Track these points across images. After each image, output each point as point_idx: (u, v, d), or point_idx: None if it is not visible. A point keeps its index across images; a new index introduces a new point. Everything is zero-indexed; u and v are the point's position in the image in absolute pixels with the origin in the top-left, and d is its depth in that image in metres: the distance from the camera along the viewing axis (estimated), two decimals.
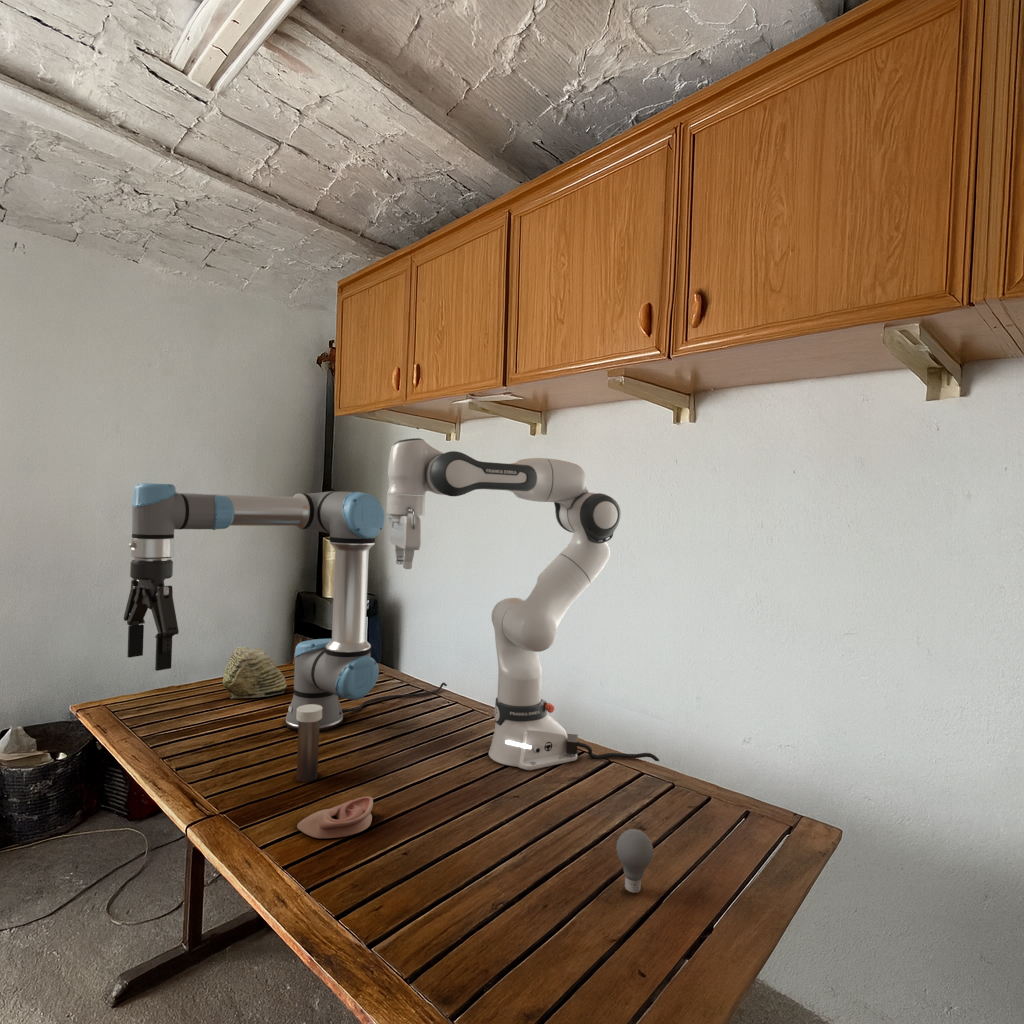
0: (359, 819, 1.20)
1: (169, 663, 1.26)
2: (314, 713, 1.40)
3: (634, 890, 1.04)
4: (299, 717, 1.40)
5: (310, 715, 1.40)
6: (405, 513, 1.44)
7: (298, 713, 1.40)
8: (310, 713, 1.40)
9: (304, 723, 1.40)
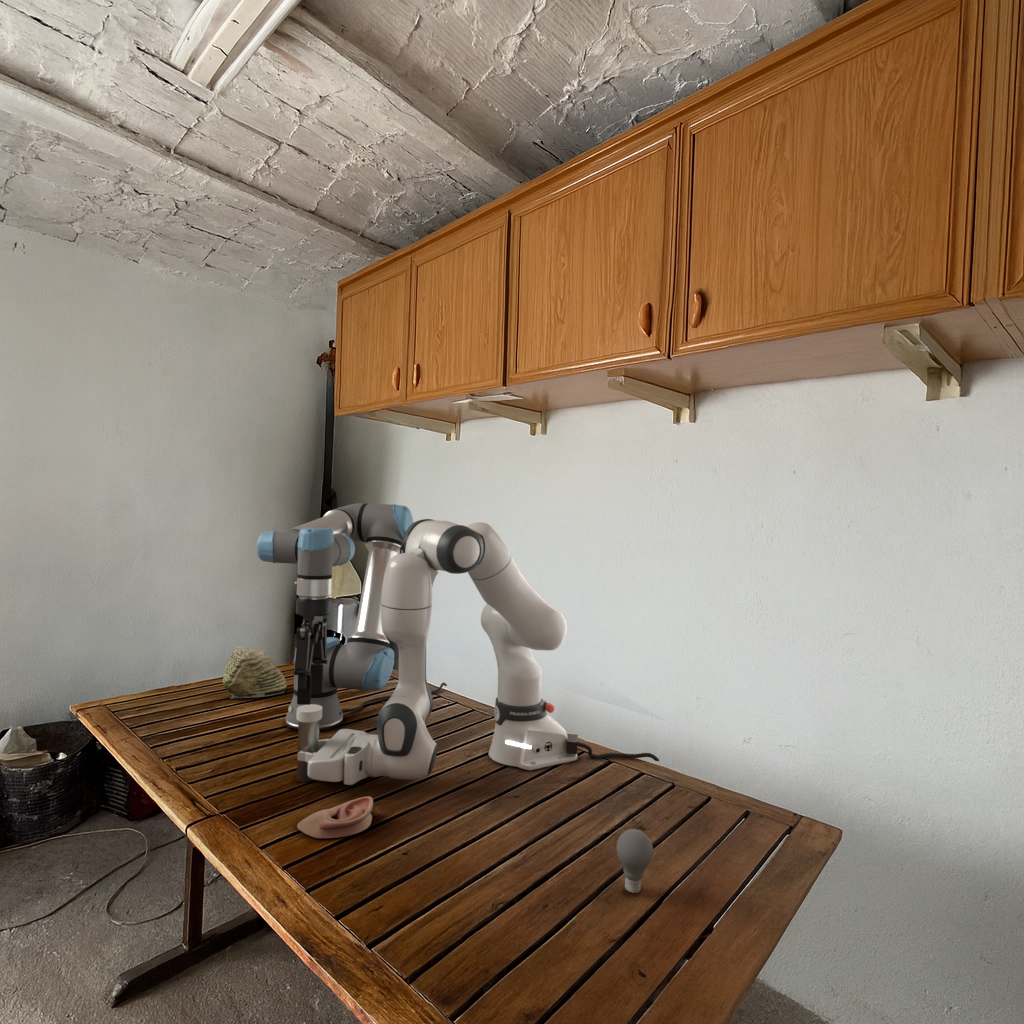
0: (359, 819, 1.20)
1: (307, 700, 1.38)
2: (314, 713, 1.40)
3: (634, 890, 1.04)
4: (299, 717, 1.40)
5: (310, 715, 1.40)
6: None
7: (298, 713, 1.40)
8: (310, 713, 1.40)
9: (304, 723, 1.40)
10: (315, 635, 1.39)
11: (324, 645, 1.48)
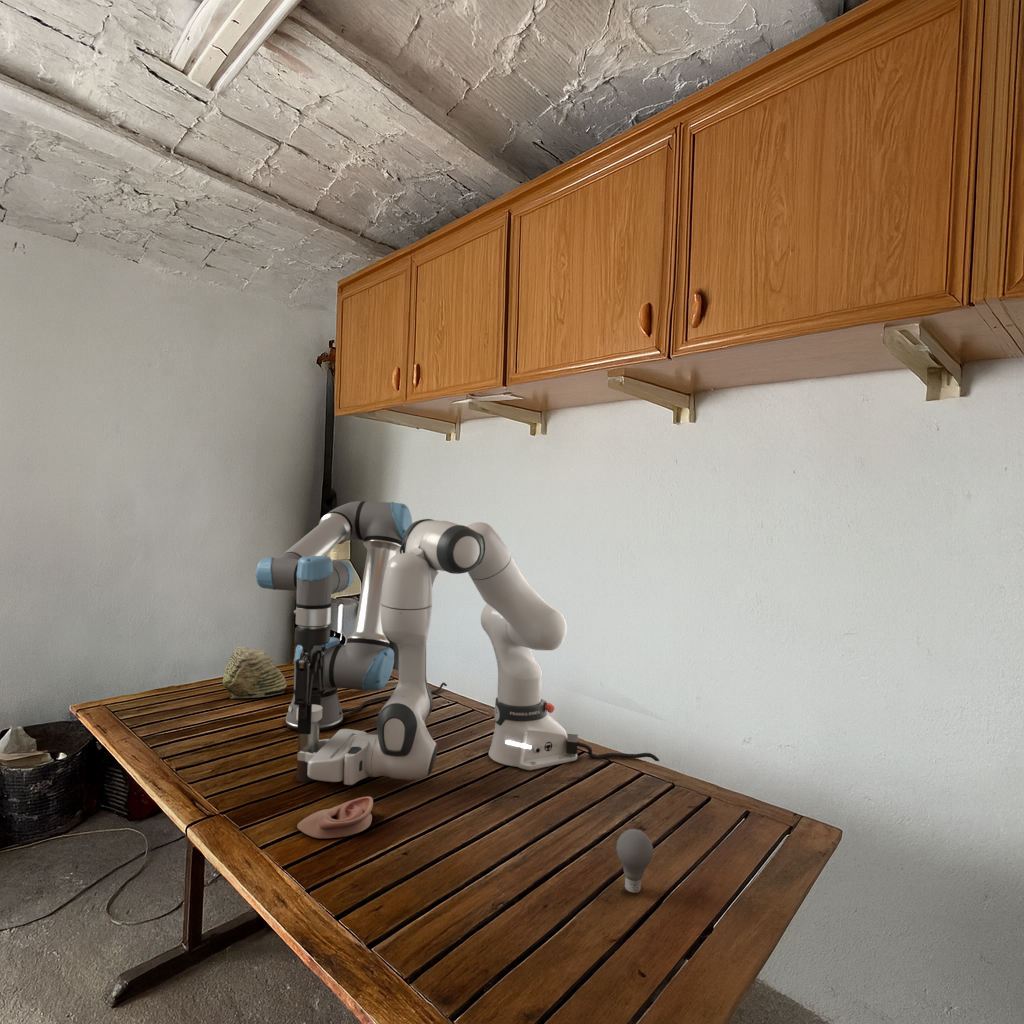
0: (359, 819, 1.20)
1: (308, 729, 1.39)
2: (314, 713, 1.40)
3: (634, 890, 1.04)
4: None
5: None
6: None
7: None
8: None
9: None
10: (314, 665, 1.40)
11: (322, 674, 1.47)
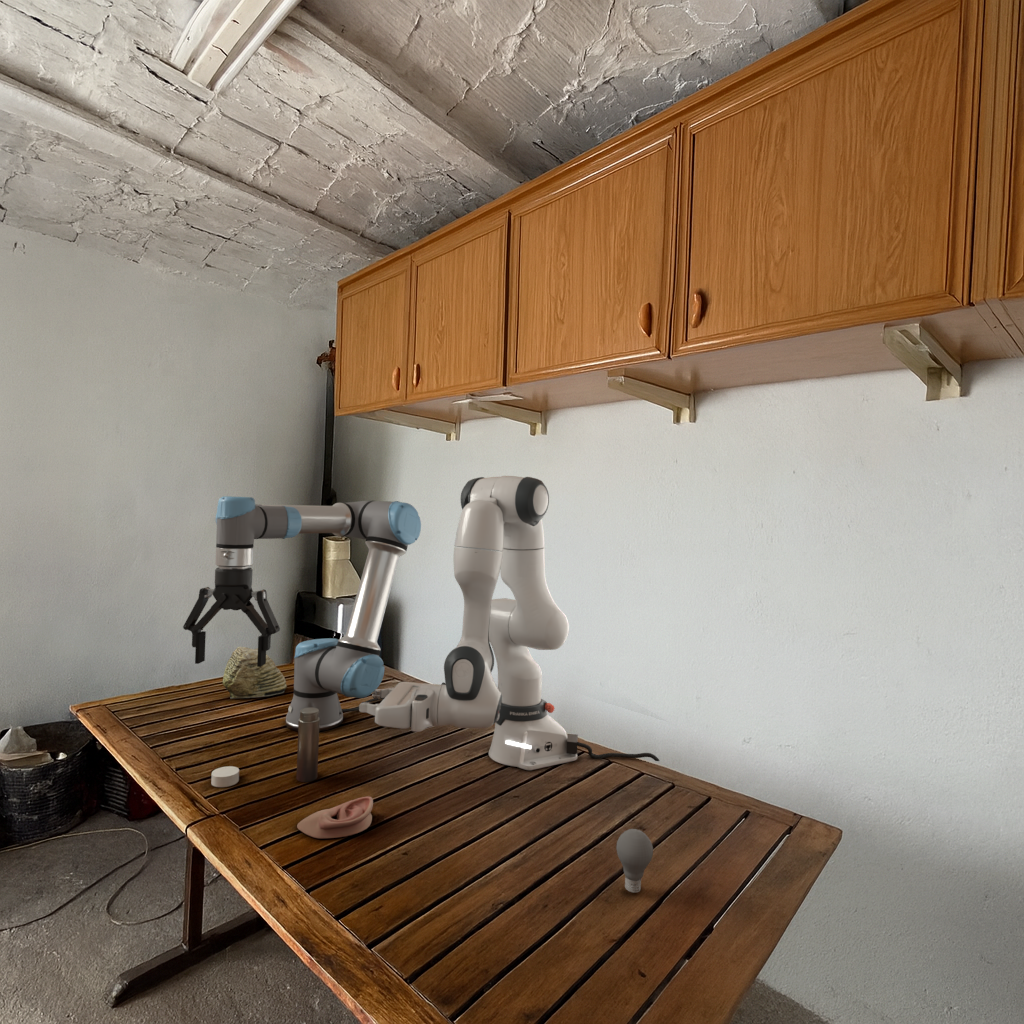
0: (359, 819, 1.20)
1: (265, 659, 1.39)
2: None
3: (634, 890, 1.04)
4: None
5: None
6: None
7: None
8: None
9: (304, 723, 1.40)
10: (249, 601, 1.40)
11: None
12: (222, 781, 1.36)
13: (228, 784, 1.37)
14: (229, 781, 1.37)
